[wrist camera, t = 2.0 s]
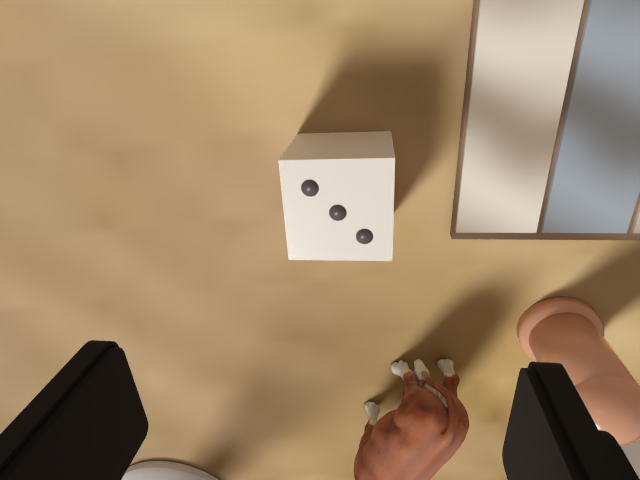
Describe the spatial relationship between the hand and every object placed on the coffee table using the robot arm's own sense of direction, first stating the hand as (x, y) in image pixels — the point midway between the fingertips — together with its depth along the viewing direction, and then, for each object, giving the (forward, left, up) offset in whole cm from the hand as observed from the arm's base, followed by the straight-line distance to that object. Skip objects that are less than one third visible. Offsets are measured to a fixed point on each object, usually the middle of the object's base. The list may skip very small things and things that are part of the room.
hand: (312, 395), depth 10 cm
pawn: (+10, +13, -15) cm, 22 cm away
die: (0, 0, -15) cm, 15 cm away
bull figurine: (+17, +3, -15) cm, 23 cm away
